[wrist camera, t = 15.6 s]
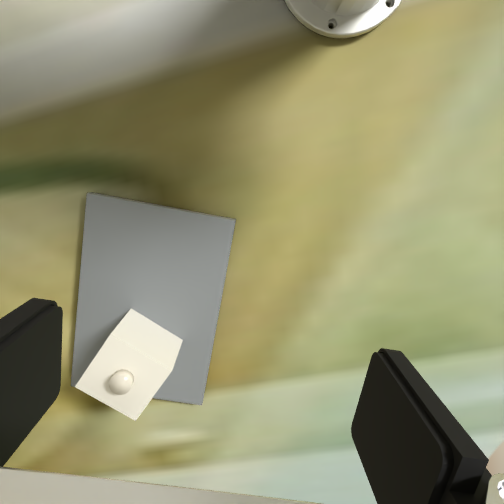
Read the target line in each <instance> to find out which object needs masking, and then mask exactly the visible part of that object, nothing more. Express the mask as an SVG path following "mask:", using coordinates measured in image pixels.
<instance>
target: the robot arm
mask: <svg viewBox="0 0 504 504" xmlns="http://www.w3.org/2000/svg"><path fill="white" fill-rule="evenodd" d="M284 1H285V2H286V4H287V6H288V8H289V10H290V11H291V12H292V13H293V15H294V16H295V17H296V18H297V19H298V20H299V21H300V22H301V23H302V24H303V25H305V26H306V27H307V28H308V29H310V30H312V31H314V32H316V33H318V34H320V35H324V36H327V37H331V38H350V37H356V36H359V35H362V34H364V33H367V32H369V31H371V30H372V29H374V28H376V27H377V26H379V25H380V24H381V23H382V22H383V21H385V20H386V19H387V18H388V17H389V16H390V15H391V14H392V13H393V12H394V11H395V10H396V8H397V7H398V6H399V4H400V3H401V1H402V0H284ZM386 4H387V5H388V6H389V8H388V7H387V6H386ZM328 25H331V26H332V27H333V29H330V28H329V27H328ZM62 316H63V311H62V308H61V307H58V306H57V303H56V302H55V301H51V300H45V299H38V298H32V299H30V300H29V301H27V302H26V303H24V304H23V305H21V306H20V307H18V308H16V309H15V310H13V311H12V312H10V313H9V314H7V315H6V316H4V317H3V318H1V319H0V504H322V503H314V502H305V501H297V500H288V499H280V498H271V497H263V496H254V495H246V494H237V493H229V492H220V491H212V490H203V489H194V488H186V487H177V486H168V485H160V484H151V483H142V482H133V481H125V480H116V479H107V478H98V477H90V476H81V475H72V474H63V473H54V472H45V471H35V470H26V469H17V468H8V467H3V466H4V464H5V463H6V462H7V461H8V459H9V458H10V457H11V456H12V454H13V453H14V452H15V450H16V449H17V448H18V447H19V445H20V444H21V443H22V442H23V440H24V439H25V438H26V437H27V435H28V434H29V433H30V431H31V430H32V429H33V428H34V426H35V425H36V424H37V423H38V421H39V420H40V419H41V418H42V416H43V415H44V414H45V412H46V411H47V410H48V409H49V407H50V406H51V405H52V404H53V402H54V401H55V400H56V398H57V396H58V394H59V391H60V386H61V352H62ZM351 433H352V438H353V441H354V443H355V446H356V449H357V451H358V454H359V456H360V459H361V462H362V464H363V467H364V470H365V472H366V475H367V477H368V480H369V483H370V485H371V488H372V491H373V493H374V496H375V499H376V501H377V504H504V474H495V475H493V476H492V475H491V474H490V473H489V471H488V470H487V469H486V466H487V463H488V461H489V460H488V458H487V457H486V456H485V455H484V453H483V452H482V451H481V450H480V448H479V447H478V446H477V445H476V443H475V442H474V441H473V440H472V439H471V437H470V436H469V435H468V434H467V432H466V431H465V430H464V429H463V427H462V426H461V425H460V424H459V422H458V421H457V420H456V419H455V417H454V416H453V415H452V414H451V412H450V411H449V410H448V409H447V407H446V406H445V405H444V404H443V403H442V401H441V400H440V399H439V398H438V396H437V395H436V394H435V393H434V391H433V390H432V389H431V388H430V386H429V385H428V384H427V383H426V381H425V380H424V379H423V378H422V376H421V375H420V374H419V373H418V371H417V370H416V369H415V368H414V366H413V365H412V364H411V363H410V362H409V360H408V359H407V358H406V357H405V355H404V354H403V353H402V352H401V351H396V350H389V349H383V348H381V349H380V350H379V351H378V353H377V352H375V353H373V355H372V357H371V361H370V364H369V367H368V371H367V374H366V378H365V381H364V385H363V388H362V391H361V395H360V398H359V402H358V405H357V409H356V412H355V415H354V419H353V422H352V428H351Z"/></svg>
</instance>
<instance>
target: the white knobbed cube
mask: <svg viewBox="0 0 504 504" xmlns="http://www.w3.org/2000/svg"><path fill="white" fill-rule="evenodd" d="M182 341H183V340H182V339H180V338H179V337H177V336H175V335H174V334H172V333H170V332H169V331H167V330H166V329H164V328H162V327H161V326H159V325H157V324H156V323H154V322H153V321H151V320H149V319H148V318H146V317H144V316H143V315H141V314H140V313H138V312H136V311H135V310H133V309H130V310H129V311H128V313H127V314H126V315H125V316H124V318H123V319H122V320H121V321H120V323H119V324H118V325H117V326H116V328H115V329H114V330H113V331H112V333H111V334H110V335H109V337H108V338H107V340H106V341H105V343H104V344H103V346H102V347H101V349H100V350H99V352H98V353H97V355H96V356H95V358H94V359H93V361H92V362H91V364H90V365H89V367H88V368H87V369H86V371H85V372H84V374H83V375H82V377H81V378H80V380H79V381H78V383H77V384H76V386H75V387H76V388H77V389H79V390H81V391H83V392H85V393H86V394H88V395H90V396H92V397H94V398H95V399H97V400H99V401H101V402H103V403H104V404H106V405H108V406H110V407H112V408H113V409H115V410H117V411H119V412H121V413H122V414H124V415H126V416H128V417H130V418H131V419H133V420H135V421H136V419H137V418H138V417H139V415H140V414H141V413H142V411H143V410H144V409H145V407H146V406H147V404H148V403H149V402H150V400H151V399H152V398H153V396H154V395H155V394H156V392H157V391H158V389H159V388H160V387H161V385H162V384H163V383H164V381H165V380H166V379H167V377H168V376H169V374H170V373H171V372H172V370H173V367H174V364H175V361H176V358H177V356H178V353H179V350H180V347H181V344H182Z"/></svg>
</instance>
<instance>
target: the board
mask: <svg viewBox="0 0 504 504" xmlns="http://www.w3.org/2000/svg"><path fill="white" fill-rule="evenodd" d="M235 222H236V219H232V218H227V217H222V216H216V215H211V214H206V213H200V212H195V211H189V210H184V209H179V208H173V207H168V206H163V205H157V204H152V203H146V202H141V201H136V200H130V199H125V198H120V197H114V196H109V195H104V194H98V193H93V192H91V193H87V198H86V210H85V222H84V233H83V245H82V257H81V269H80V281H79V293H78V305H77V317H76V329H75V341H74V353H73V365H72V377H71V386H73V387H75V386H76V384H77V383H78V381H79V380H80V378H81V377H82V375H83V374H84V372H85V371H86V369H87V368H88V367H89V365H90V364H91V362H92V361H93V359H94V358H95V356H96V355H97V353H98V352H99V350H100V349H101V347H102V346H103V344H104V343H105V341H106V340H107V338H108V337H109V335H110V334H111V333H112V331H113V330H114V329H115V328H116V326H117V325H118V324H119V323H120V321H121V320H122V319H123V318H124V316H125V315H126V314H127V313H128V311H129V310H130V309H133V310H135V311H136V312H138V313H140V314H141V315H143V316H144V317H146V318H148V319H149V320H151V321H153V322H154V323H156V324H157V325H159V326H161V327H162V328H164V329H166V330H167V331H169V332H170V333H172V334H174V335H175V336H177V337H179V338H180V339H182V340H183V341H182V344H181V347H180V350H179V353H178V356H177V358H176V361H175V364H174V367H173V370H172V372H171V373H170V374H169V376H168V377H167V379H166V380H165V381H164V383H163V384H162V385H161V387H160V388H159V389H158V391H157V392H156V394H155V395H154V396H153V398H156V399H162V400H169V401H176V402H183V403H190V404H197V405H202V403H203V397H204V392H205V386H206V381H207V375H208V370H209V364H210V359H211V353H212V348H213V342H214V337H215V331H216V326H217V320H218V315H219V309H220V304H221V298H222V293H223V287H224V282H225V276H226V271H227V265H228V260H229V254H230V249H231V244H232V238H233V233H234V227H235Z"/></svg>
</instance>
